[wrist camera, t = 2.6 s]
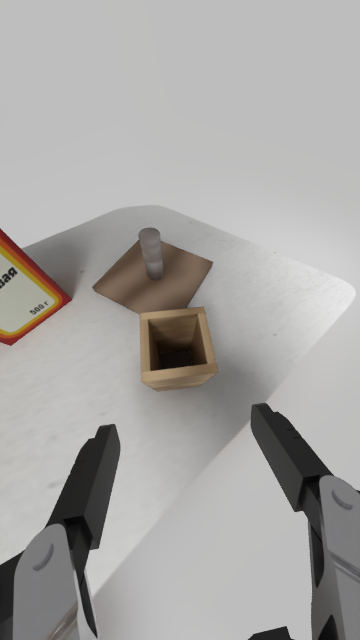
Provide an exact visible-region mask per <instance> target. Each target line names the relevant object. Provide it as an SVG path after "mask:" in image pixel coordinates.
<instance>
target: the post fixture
mask: <svg viewBox="0 0 360 640" xmlns="http://www.w3.org/2000/svg"><path fill="white" fill-rule="evenodd" d="M212 264H213V262H212V261H209V260H207V259H204V258H202V257H199V256H197V255H194V254H192V253H189V252H187V251H184V250H182V249H179V248H177V247H174V246H172V245H169V244H167V243H164V242H162V241H160V233H159V231H158V230H157V229H155V228H145V229H142V230H141V231H140V232H139V240H138V241H137V242H136V243H135V244H134V245H133V246H132V247H131V248H130V249H129V250H128V251H127V252H126V253H125V254H124V255H123V256H122V257H121V258H120V259H119V260H118V261H117V262H116V263H115V264H114V265H113V266H112V268H111V269H110V270H109V271H108V272H107V273H106V274H105V275H104V276H103V277H102V278H101V279H100V280H99V281H98V282H97V283H96V284H95V285H94V286H93V287H92V288H93V289H94V291H96V292H97V293H99V294H101V295H103V296H105V297H107V298H109V299H111V300H113V301H115V302H117V303H119V304H121V305H122V306H124V307H126V308H128V309H130V310H132V311H134V312H136V313H138V314H140V313H147V312H157V311H167V310H177V309H186V307H187V306H188V304H189V303H190V301H191V299H192V298H193V296H194V294H195V293H196V291H197V290H198V288H199V286H200V285H201V283H202V282H203V280H204V278H205V277H206V275H207V274H208V272H209V270H210V269H211V267H212Z"/></svg>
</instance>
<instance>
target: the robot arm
mask: <svg viewBox="0 0 360 640" xmlns="http://www.w3.org/2000/svg"><path fill="white" fill-rule="evenodd" d="M251 429H252V432H253V435H254V437H255V439H256V440H257V443H258V444H259V446H260V448H261V450H262V452H263V454H264V456H265V458H266V459H267V461H268V463H269V465H270V467H271V469H272V470H273V472H274V474H275V476H276V478H277V480H278V482H279V484H280V486H281V488H282V489H283V491H284V493H285V495H286V497H287V499H288V501H289V503H290V504H291V506H292V508H293V510H294V512H299V511H304V513H305V515H306V516H307V518H308V531H309V546H310V562H311V577H312V603H311V605H312V606H311V626H312V627H311V628H312V640H360V491H358V490H355V489H354V488H353V487H352V486H351V485H349V484H348V483H347V482H345V481H344V480H342V479H340V478H338V477H335V476H334V475H333V474H332V473H331V472H330V471H329V470H328V468H327V467H326V466H325V465H324V464H323V462H322V461H321V460H320V459H319V457H318V456H317V455H316V454H315V452H314V451H313V450H312V449H311V447H310V446H309V445H308V444H307V442H306V441H305V440H304V439H303V438H302V437H301V435H300V434H299V433H298V431H297V430H295V428H294V427H293V425H292V424H291V423H290V421H289V420H288V419H287V418H286V417H284V416H283V415H282V414H280V413H279V412H273V411H272V410H271V408H270V407H269V406H268V404H266V403H261V404H254V405H252V410H251ZM119 456H120V441H119V437H118V433H117V429H116V426H115V424H110V425H103V426H100V427H99V428H98V431H97V433H96V436H95V438H92V439H88V441H87V442H86V443H85V444H84V446H83V447H82V448H81V450H80V452H79V454H78V456H77V458H76V461H75V464H74V465H73V467H72V470H71V472H70V475H69V476H68V479H67V481H66V483H65V485H64V487H63V490H62V492H61V494H60V496H59V499H58V501H57V503H56V505H55V508H54V510H53V512H52V514H51V517H50V519H49V521H48V523H47V524H46V526H45V528H44V529H43V530H42V531H41V532H40V533H38V534H37V535H36V536H35V537H34V539H33V540H32V541H31V542H30V543H29V545H28V546H27V548H26V549H25V550H24V551H22V552H21V553H20V554H18V555H16V556H15V557H13V558H11V559H10V560H8V561H6V562H4V563H3V564H1V565H0V640H101V636H100V632H99V627H98V623H97V618H96V614H95V609H94V605H93V600H92V596H91V591H90V587H89V582H88V578H87V573H86V569H85V566H86V562H87V558H88V554H89V550H93V549H99V545H100V540H101V536H102V531H103V527H104V523H105V518H106V514H107V509H108V505H109V500H110V496H111V492H112V487H113V483H114V478H115V474H116V470H117V465H118V461H119ZM248 640H294V639H291V638H290V635H289V632H288V629H287V626H285V627H281V628H277V629H273V630H269V631H264V632H260V633H256V634H253V636H251V637H250V638H249V639H248Z"/></svg>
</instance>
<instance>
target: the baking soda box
mask: <svg viewBox="0 0 360 640" xmlns="http://www.w3.org/2000/svg"><path fill="white" fill-rule="evenodd" d="M71 300H72V299H71V298H70V297H69V296H68V295H67V294H66V293H65V292H64V291H63V290H62V289H61V288H60V287H59V286H58V285H57V284H56V283H55V282H54V281H53V280H52V279H51V278H50V277H49V276H48V275H47V274H46V273H45V272H44V271H43V270H42V269H41V268H40V267H39V266H38V265H37V264H36V263H35V262H34V261H33V260H32V259H31V258H30V257H28V256H27V255H26V254H25V253H24V252H23V251H22V250H21V249H20V248H19V247H18V246H17V245H16V244H15V243H14V242H13V241H12V240H11V239H10V238H9V237H8V236H7V235H6V234H5V233H4V232H3V231H2V230H1V229H0V342H1V343H4V344H7V345H10V346H11V345H13V344H14V343H15V342H17V341H18V340H19V339H21V338H22V337H23V336H25V335H26V334H27V333H29V332H30V331H31V330H33V329H34V328H35V327H37V326H38V325H39V324H41V323H42V322H43V321H45V320H46V319H47V318H49V317H50V316H51V315H53V314H54V313H55V312H57V311H58V310H59V309H61V308H62V307H63V306H65V305H66V304H67V303H69V302H70V301H71Z"/></svg>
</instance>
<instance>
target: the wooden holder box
mask: <svg viewBox="0 0 360 640" xmlns="http://www.w3.org/2000/svg"><path fill="white" fill-rule="evenodd" d="M140 340H141V382H143V383H144V384H146V385H147V386H149V387H151V388H152V389H154V390H155V391H157V392H159V391H166V390H174V389H181V388H188V387H196V386H201V385H202V384H203V383H204V382H206V381H207V380H208V379H210V378H211V377H212V376H213V375H215V374H216V373H217V372H218V368H217V364H216V359H215V355H214V350H213V346H212V341H211V337H210V332H209V328H208V323H207V319H206V314H205V310H204V307H197V308H187V309H177V310H167V311H157V312H147V313H140ZM185 350H190V356H191V362H192V366H188V367H180V368H172V369H164V370H161V365H160V353H168V352H177V351H185Z"/></svg>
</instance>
